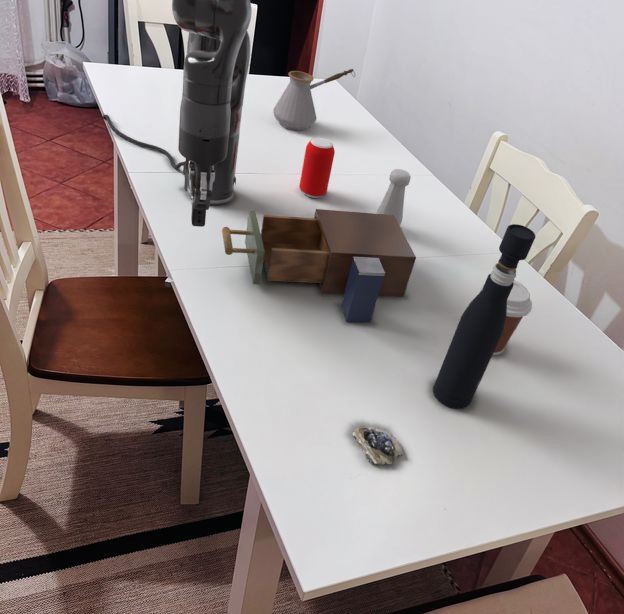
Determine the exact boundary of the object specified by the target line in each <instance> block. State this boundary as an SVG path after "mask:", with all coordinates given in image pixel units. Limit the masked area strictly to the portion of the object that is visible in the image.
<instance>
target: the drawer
mask: <svg viewBox="0 0 624 614" xmlns="http://www.w3.org/2000/svg"><path fill="white" fill-rule="evenodd" d="M260 229H261V230H260ZM221 233H222V240H223V246H224V247H223V248H224V253H225V255H228V256H230V255H232V254H233V253H234V254H235V253H236V254H246V255H247V260H248V266H249V271H250V277H251V282H252V285H257V286H258V285H259V286H260V285H261V278H262V272H263V266H264V271H265V275H266V280H267V281H268V282H289V283H310V284H311V283H314V284H319V283H323V280H324V275H325V271H326V266H327V262H328V257H329V251H328V248H327V246H326V243H325V240H324V237H323V234H322V231H321V228H320V226H319V223H318V220H317V218H314V217H303V216H289V215H278V214H276V215H273V214H263V215H262V222H261V228H260V223H259V220H258V216H257V211H256V210H255V209H249V210H248V216H247V223H246V230H241V229H230V227H228V226H224V227H222V229H221ZM232 235H239V236H245V239H244V245H245V248H240V247H239V248H238V247H234V246H233V241H232Z"/></svg>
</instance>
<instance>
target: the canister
mask: <svg viewBox="0 0 624 614" xmlns="http://www.w3.org/2000/svg"><path fill="white" fill-rule="evenodd" d="M384 276H385V272H384V270H383V267H382V265H381V263H380V261H379V258H369V257H353V261H352V265H351V269H350V273H349V277H348V281H347V285H346V289H345V293H344V294H343V297H342V301H341V306H340V308H341V311H342V313H343V316H344V319H345V321H346V323H371V321H372V319H373V315H374V313H375V308H376V305H377V301H378V298H379V296H378V295H379V291H380V288H381V284H382V281H383V278H384Z"/></svg>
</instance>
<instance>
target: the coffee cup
mask: <svg viewBox="0 0 624 614" xmlns="http://www.w3.org/2000/svg"><path fill="white" fill-rule="evenodd" d="M513 284H514V286H513V288H512V290H511V292H510V295H509V297H508V299H507V314H506V321H505V326H504V330H503V333H502V335H501V338H500V340H499V342H498V344H497V346H496V349H495V351H494V353H493V355H492V356H498V355H501V354H502V353H503V352H504V351H505V348H506V346H507V345H508V343H509V341H510V339H511V338H512V336H513V335H514V332H515V331H516V329H517V327H518V326H519V324H520V322H521V320H523V318H524V317H526V316H528V314H530V313H531V311H532V309H533V302H532V299H531V293H530V292H529V290H528V288H527V287H526V286H525V285H524V284H523V283H521V282H519V281H517V280H516V279H514V282H513ZM483 287H484V284H483V285H482V286H481V287H480V289H479V293H480V292H481V291H482V289H483Z"/></svg>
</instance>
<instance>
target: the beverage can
mask: <svg viewBox="0 0 624 614" xmlns="http://www.w3.org/2000/svg"><path fill="white" fill-rule="evenodd" d="M335 152H336V151H335V147H334V145H333V143H332V142H331V141H330V140H328V139H327V138H323V137H313V138H312V139H310V140H309V141H308V142H307V144H306V147H305V151H304V155H303V163H302V169H301V175H300V179H299V190H300V191H301V193H302V194H303V195H305V196H307V197H309V198H312V199H317V198H318V199H319V198H322V197H324V196H326V195H327V192H328V187H329V183H330V177H331V172H332V168H333V163H334V160H335V159H334V157H335Z"/></svg>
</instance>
